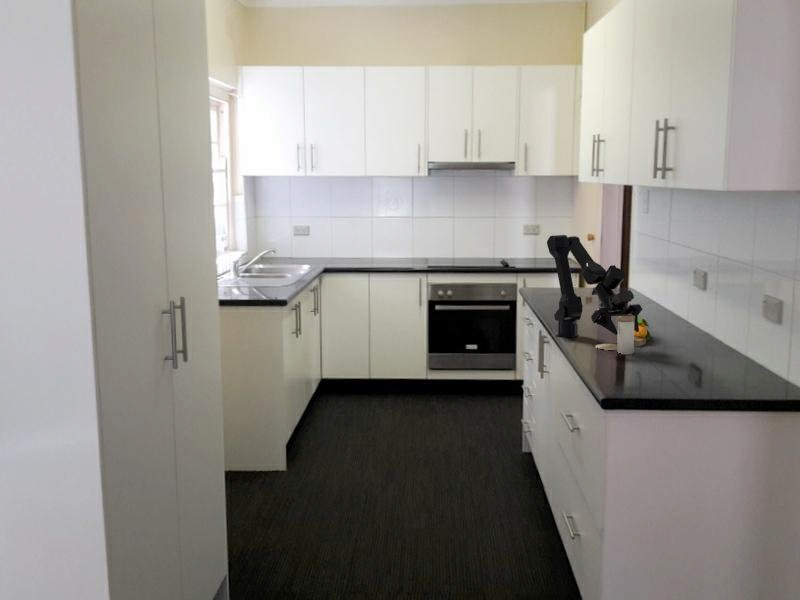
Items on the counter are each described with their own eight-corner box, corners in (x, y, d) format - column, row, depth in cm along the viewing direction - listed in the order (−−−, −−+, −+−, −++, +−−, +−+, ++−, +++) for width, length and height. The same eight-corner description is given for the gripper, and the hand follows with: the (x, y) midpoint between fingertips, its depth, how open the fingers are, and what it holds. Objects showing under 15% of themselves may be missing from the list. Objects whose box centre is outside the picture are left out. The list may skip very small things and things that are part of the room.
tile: (623, 344, 302) (623, 339, 302) (629, 341, 307) (630, 336, 306) (639, 346, 298) (639, 341, 298) (645, 343, 303) (645, 338, 303)
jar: (614, 353, 288) (614, 316, 286) (620, 350, 293) (621, 313, 291) (630, 355, 285) (630, 318, 283) (636, 351, 289) (637, 315, 287)
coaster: (591, 348, 296) (591, 347, 296) (602, 344, 303) (602, 342, 303) (615, 351, 291) (615, 350, 291) (625, 347, 298) (625, 345, 298)
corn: (645, 313, 319) (654, 323, 300) (646, 333, 321) (654, 344, 301) (626, 315, 321) (633, 324, 301) (627, 334, 322) (633, 345, 302)
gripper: (596, 285, 285) (617, 321, 277) (639, 281, 293) (660, 316, 285) (582, 304, 294) (601, 340, 286) (624, 300, 301) (644, 335, 293)
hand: (627, 332), depth 287 cm, fingers open, 9 cm apart
